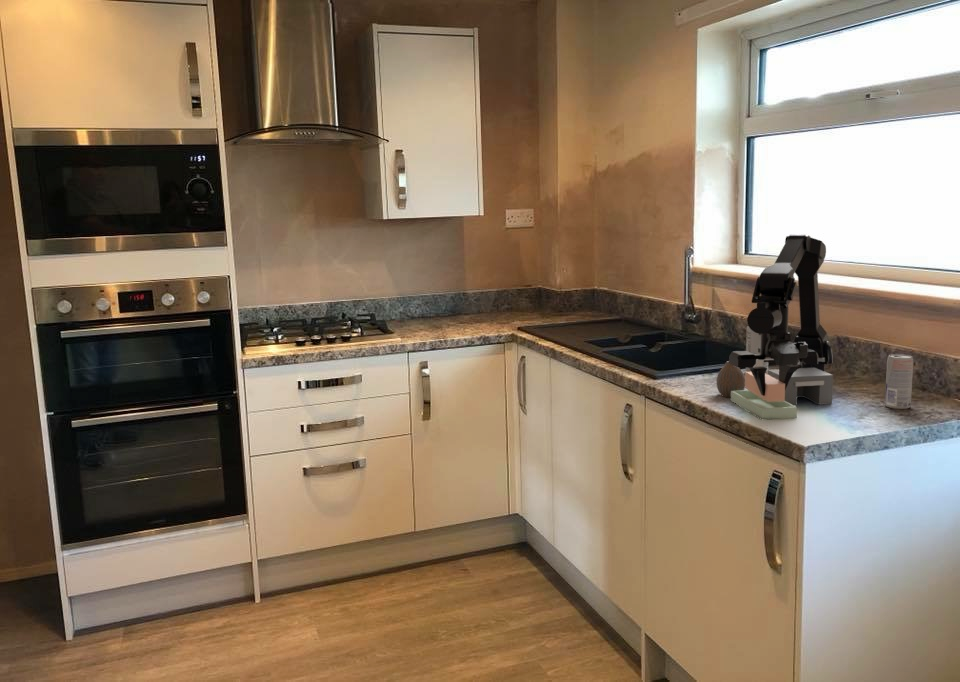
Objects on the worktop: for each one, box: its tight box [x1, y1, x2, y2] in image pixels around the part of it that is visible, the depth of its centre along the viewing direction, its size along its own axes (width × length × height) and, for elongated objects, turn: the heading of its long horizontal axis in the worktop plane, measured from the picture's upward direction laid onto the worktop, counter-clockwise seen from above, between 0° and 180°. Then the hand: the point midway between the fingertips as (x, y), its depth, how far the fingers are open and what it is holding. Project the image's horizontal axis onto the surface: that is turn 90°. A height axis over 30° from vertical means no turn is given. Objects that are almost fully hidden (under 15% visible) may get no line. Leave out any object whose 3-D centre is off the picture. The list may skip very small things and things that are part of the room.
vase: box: [716, 360, 746, 398], centre depth 202 cm, size 7×7×9 cm
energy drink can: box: [745, 325, 769, 374], centre depth 226 cm, size 6×6×15 cm
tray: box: [730, 389, 798, 420], centre depth 189 cm, size 18×8×2 cm, turn 5°
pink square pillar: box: [744, 371, 785, 402], centre depth 188 cm, size 14×4×4 cm, turn 2°
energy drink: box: [884, 353, 914, 410], centre depth 187 cm, size 5×5×12 cm
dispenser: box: [767, 368, 834, 407], centre depth 195 cm, size 10×12×7 cm
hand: (772, 394), depth 184 cm, fingers closed on pink square pillar, 4 cm apart
